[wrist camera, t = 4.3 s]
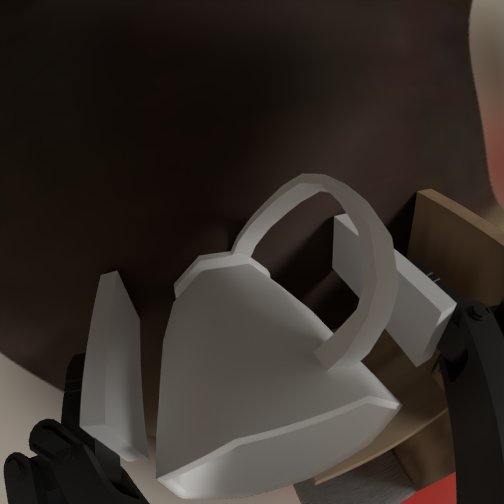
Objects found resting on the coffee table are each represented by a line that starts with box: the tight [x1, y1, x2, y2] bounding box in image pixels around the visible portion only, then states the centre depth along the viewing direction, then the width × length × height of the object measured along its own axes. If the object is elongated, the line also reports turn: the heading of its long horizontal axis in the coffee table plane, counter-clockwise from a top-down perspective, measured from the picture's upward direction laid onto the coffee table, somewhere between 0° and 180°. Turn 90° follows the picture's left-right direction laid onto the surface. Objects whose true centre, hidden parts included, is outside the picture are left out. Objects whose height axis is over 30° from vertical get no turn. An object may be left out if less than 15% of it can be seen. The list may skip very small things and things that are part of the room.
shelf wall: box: [390, 189, 504, 492], centre depth 15 cm, size 25×1×12 cm, turn 7°
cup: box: [156, 174, 403, 499], centre depth 9 cm, size 7×10×8 cm
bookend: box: [293, 450, 416, 504], centre depth 19 cm, size 2×9×12 cm, turn 97°
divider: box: [311, 327, 448, 485], centre depth 13 cm, size 1×8×8 cm, turn 97°
